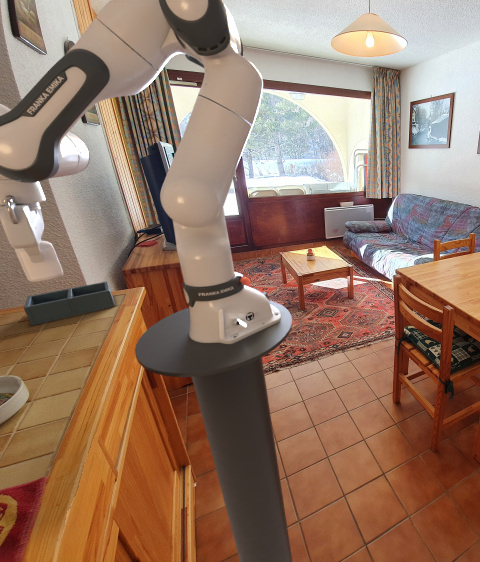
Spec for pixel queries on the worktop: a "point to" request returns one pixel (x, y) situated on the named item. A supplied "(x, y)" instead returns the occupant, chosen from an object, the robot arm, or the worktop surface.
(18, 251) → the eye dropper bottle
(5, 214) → the robot arm
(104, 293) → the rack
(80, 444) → the worktop surface
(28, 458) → the worktop surface
